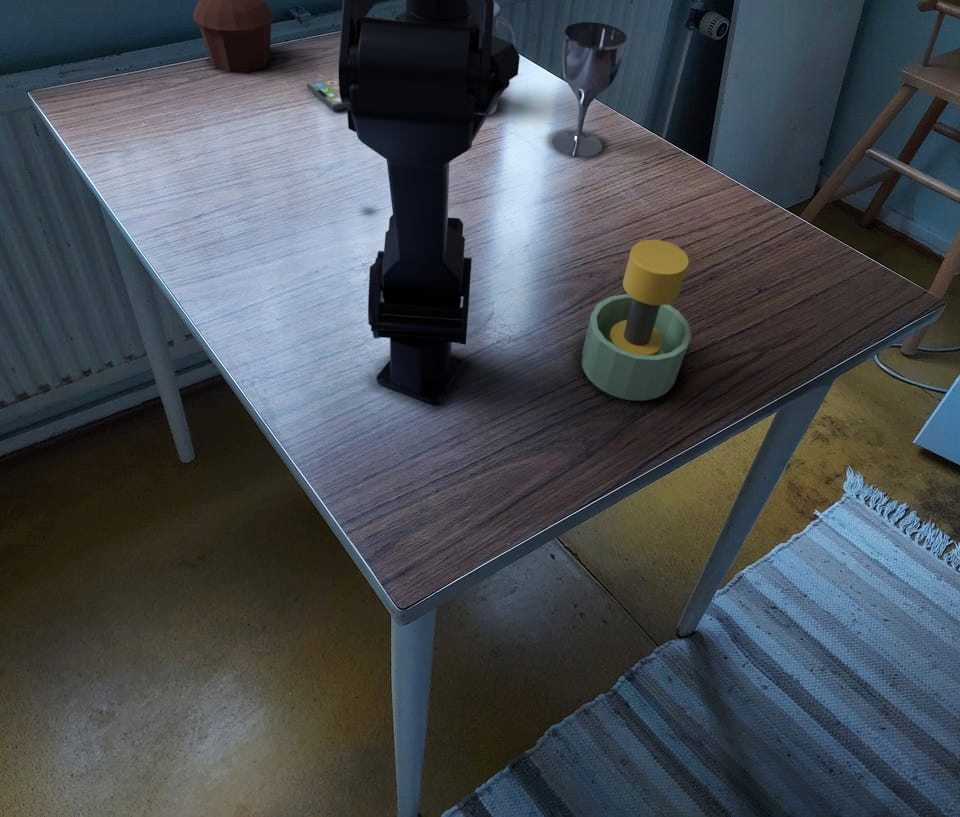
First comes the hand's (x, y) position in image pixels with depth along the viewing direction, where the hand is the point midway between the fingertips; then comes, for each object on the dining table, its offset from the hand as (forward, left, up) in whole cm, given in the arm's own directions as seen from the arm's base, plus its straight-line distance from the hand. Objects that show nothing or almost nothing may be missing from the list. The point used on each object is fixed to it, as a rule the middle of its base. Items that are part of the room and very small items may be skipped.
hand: (435, 167), depth 78 cm
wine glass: (+37, -4, -13) cm, 40 cm away
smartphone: (+35, +29, -13) cm, 48 cm away
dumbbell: (-4, -24, -13) cm, 28 cm away
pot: (-4, -24, -13) cm, 28 cm away
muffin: (+34, +50, -13) cm, 62 cm away
